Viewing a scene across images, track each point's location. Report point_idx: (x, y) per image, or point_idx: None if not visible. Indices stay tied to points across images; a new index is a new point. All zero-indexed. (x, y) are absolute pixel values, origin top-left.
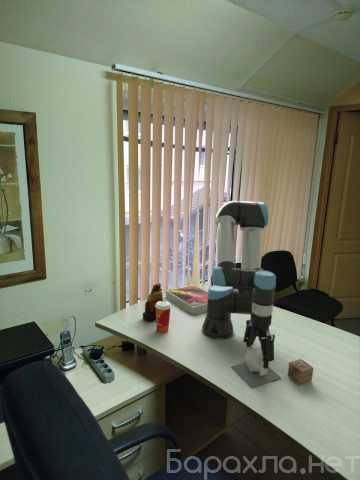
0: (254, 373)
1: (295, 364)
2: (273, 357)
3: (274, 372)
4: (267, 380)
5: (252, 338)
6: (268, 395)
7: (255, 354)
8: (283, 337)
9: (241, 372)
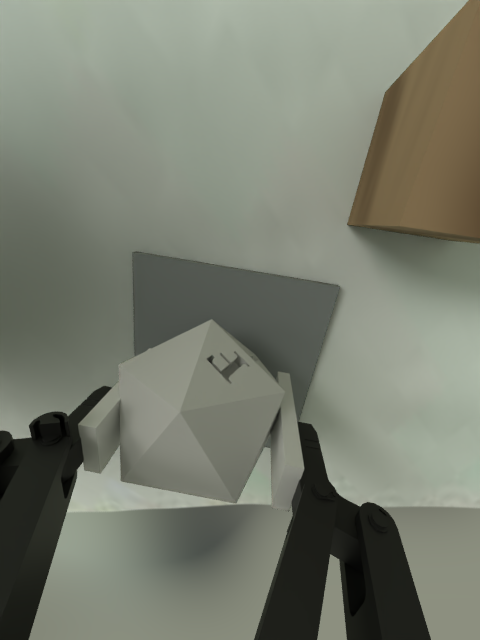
0: None
1: (473, 198)
2: (404, 564)
3: (282, 283)
4: (304, 369)
5: (26, 623)
6: (363, 428)
7: (199, 493)
8: None
9: None
